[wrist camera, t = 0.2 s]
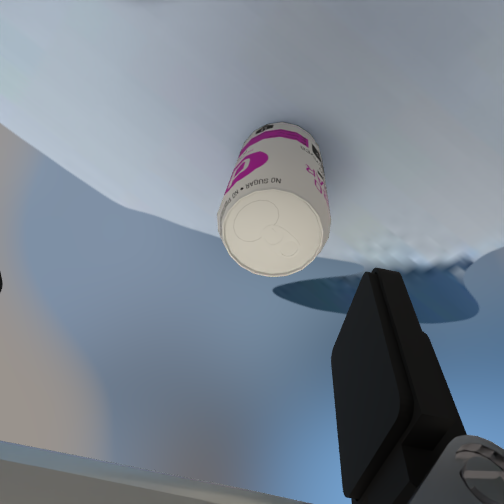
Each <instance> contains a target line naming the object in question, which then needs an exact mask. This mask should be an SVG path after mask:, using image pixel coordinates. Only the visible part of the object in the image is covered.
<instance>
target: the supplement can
mask: <svg viewBox="0 0 504 504" xmlns="http://www.w3.org/2000/svg"><path fill="white" fill-rule="evenodd" d="M217 218H218V232H219V234H220V237H221V239H222V241H223V243H224V246H225V247H226V249H227V251H228V253H229V255H230V256H231V257H232V258H233V259H234V260H235V261H236V262H237V263H238V264H239V265H240V266H241V267H243V268H245V269H247V270H248V271H250V272H252V273H254V274H259V275H263V276H268V277H277V276H287V275H290V274H293V273H295V272H298V271H300V270H302V269H303V268H305V266H307V265H308V264H309V263H311V262H312V261H313V260H314V258H315V257H316V256H317V255H318V254H319V253H320V252H321V250H322V248H323V247H324V245H325V243H326V241H327V240H328V238H329V232H330V224H331V216H330V209H329V203H328V196H327V189H326V183H325V176H324V170H323V163H322V158H321V154H320V150H319V146H318V144H317V143H316V142H315V140H314V139H313V137H312V136H311V135H310V133H308V132H306V131H305V130H303V129H302V128H300V127H299V126H297V125H293V124H288V123H284V122H279V123H272V124H267V125H265V126H263V127H261V128H259V129H257V130H256V131H254V132H253V133H252V134H251V135H250V136H249V138H248V139H247V140H246V141H245V142H244V144H243V147H242V150H241V152H240V155H239V158H238V160H237V163H236V165H235V168H234V171H233V173H232V176H231V179H230V181H229V184H228V186H227V189H226V192H225V194H224V197H223V200H222V202H221V205H220V208H219V211H218V213H217Z"/></svg>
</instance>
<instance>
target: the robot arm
mask: <svg viewBox="0 0 504 504" xmlns="http://www.w3.org/2000/svg"><path fill="white" fill-rule="evenodd" d="M1 289H2V278H1V273H0V292H1ZM331 365H332V376H333V387H334V398H335V408H336V419H337V431H338V441H339V452H340V463H341V474H342V484H343V492H344V495H345V497H347V498H351V499H352V504H504V449H502V448H500V447H499V446H497V445H496V444H494V443H493V442H491V441H488V440H486V439H483V438H480V437H478V436H471V435H467V434H466V431H465V429H464V426H463V424H462V421H461V419H460V416H459V413H458V411H457V409H456V406H455V403H454V401H453V398H452V396H451V393H450V390H449V388H448V385H447V383H446V380H445V378H444V375H443V373H442V370H441V367H440V365H439V362H438V360H437V357H436V354H435V352H434V349H433V347H432V344H431V342H430V339H429V337H428V336H427V334H426V333H424V332H423V331H422V329H421V327H420V324H419V321H418V319H417V316H416V313H415V311H414V308H413V306H412V303H411V300H410V298H409V295H408V292H407V290H406V287H405V284H404V282H403V279H402V276H401V274H400V273H399V272H395V271H390V270H385V269H381V268H374V269H373V271H372V272H371V273H370V272H365V273H364V275H363V277H362V279H361V281H360V284H359V286H358V289H357V291H356V294H355V296H354V298H353V301H352V303H351V306H350V308H349V311H348V313H347V316H346V318H345V320H344V323H343V325H342V328H341V331H340V333H339V335H338V338H337V340H336V342H335V345H334V347H333V351H332V356H331ZM0 504H311V503H306V502H302V501H297V500H292V499H288V498H283V497H279V496H274V495H269V494H265V493H260V492H256V491H251V490H247V489H242V488H237V487H232V486H227V485H222V484H216V483H212V482H206V481H202V480H197V479H192V478H187V477H182V476H177V475H172V474H167V473H162V472H157V471H152V470H147V469H142V468H137V467H132V466H127V465H122V464H117V463H112V462H107V461H102V460H97V459H92V458H87V457H82V456H77V455H71V454H66V453H61V452H56V451H51V450H46V449H40V448H35V447H30V446H25V445H20V444H15V443H10V442H5V441H0Z"/></svg>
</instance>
